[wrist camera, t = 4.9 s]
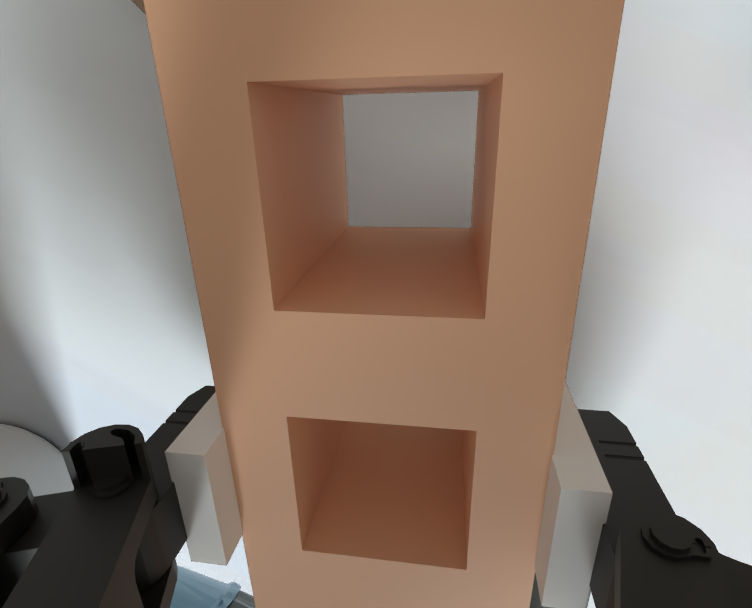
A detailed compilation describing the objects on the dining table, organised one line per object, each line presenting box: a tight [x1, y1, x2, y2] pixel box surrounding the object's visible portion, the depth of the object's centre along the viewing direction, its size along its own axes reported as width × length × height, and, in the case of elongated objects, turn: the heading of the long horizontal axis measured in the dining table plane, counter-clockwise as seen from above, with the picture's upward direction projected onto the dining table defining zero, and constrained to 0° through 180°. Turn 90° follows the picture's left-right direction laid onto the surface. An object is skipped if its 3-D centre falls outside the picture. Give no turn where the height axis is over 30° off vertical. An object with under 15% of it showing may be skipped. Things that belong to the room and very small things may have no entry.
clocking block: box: [143, 0, 625, 608], centre depth 11 cm, size 17×6×6 cm, turn 2°
